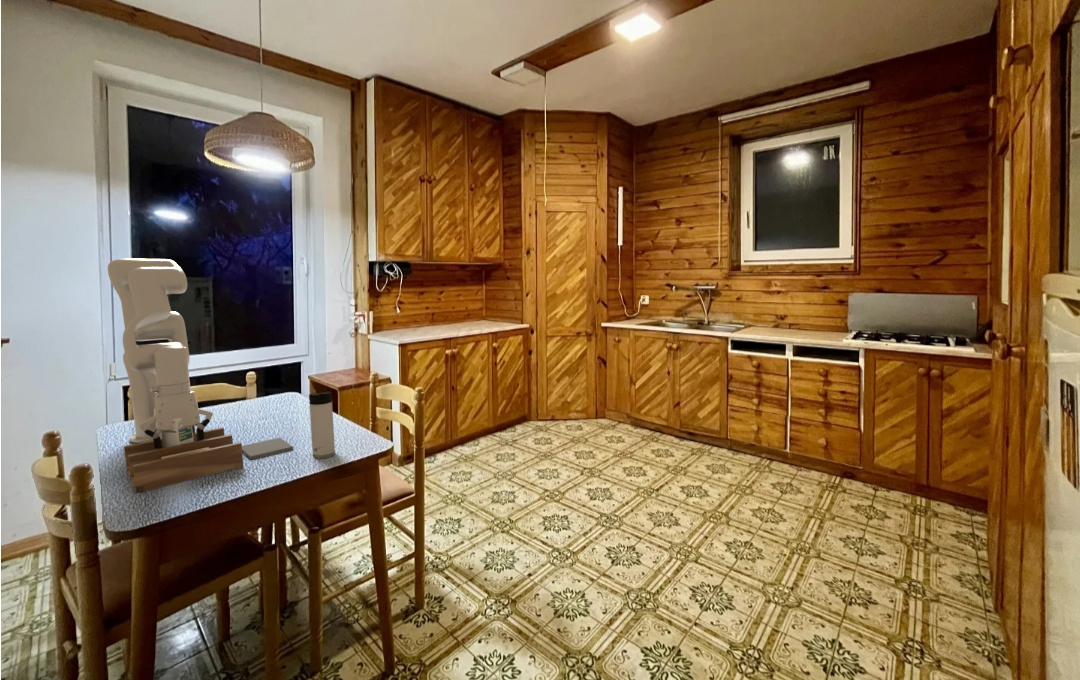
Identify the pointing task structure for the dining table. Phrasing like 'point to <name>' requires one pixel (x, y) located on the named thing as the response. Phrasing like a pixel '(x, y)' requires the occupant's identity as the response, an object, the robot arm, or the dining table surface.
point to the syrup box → (178, 434)
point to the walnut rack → (181, 460)
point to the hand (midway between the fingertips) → (180, 446)
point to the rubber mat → (266, 448)
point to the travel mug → (322, 425)
